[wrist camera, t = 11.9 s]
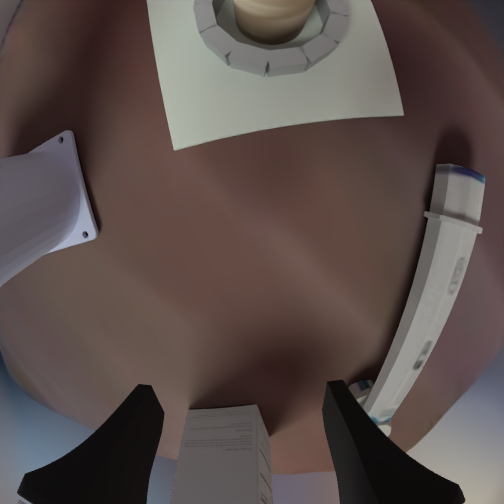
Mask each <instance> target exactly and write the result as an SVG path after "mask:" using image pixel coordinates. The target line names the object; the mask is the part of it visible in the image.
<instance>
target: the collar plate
mask: <svg viewBox="0 0 504 504" xmlns="http://www.w3.org/2000/svg"><path fill="white" fill-rule="evenodd" d="M147 6H148V13H149V20H150V27H151V34H152V40H153V46H154V52H155V58H156V64H157V70H158V75H159V80H160V86H161V91H162V96H163V101H164V106H165V111H166V116H167V120H168V125H169V130H170V134H171V139H172V143H173V147H174V150H179V149H183V148H186V147H190V146H194V145H198V144H202V143H206V142H210V141H214V140H218V139H222V138H227V137H231V136H236V135H241V134H246V133H251V132H256V131H261V130H267V129H272V128H278V127H284V126H291V125H298V124H305V123H313V122H321V121H330V120H340V119H351V118H366V117H386V116H403V115H404V113H403V108H402V102H401V98H400V93H399V88H398V84H397V80H396V76H395V72H394V68H393V64H392V61H391V57H390V54H389V50H388V47H387V44H386V40H385V37H384V34H383V31H382V28H381V26H380V23H379V20H378V17H377V15H376V12H375V10H374V7H373V4H372V2H371V0H315V3H314V5H313V7H312V9H311V11H310V14H309V16H308V18H307V21H306V23H305V25H304V27H303V30H302V31H301V33H300V34H299V35H298V36H297V37H296V38H295V39H293V40H291V41H289V42H287V43H284V44H279V45H265V44H260V43H257V42H254V41H252V40H250V39H248V38H247V37H245V36H244V35H243V34H242V33H241V32H240V30H239V29H238V27H237V24H236V20H235V14H234V8H233V2H232V0H147Z"/></svg>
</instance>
